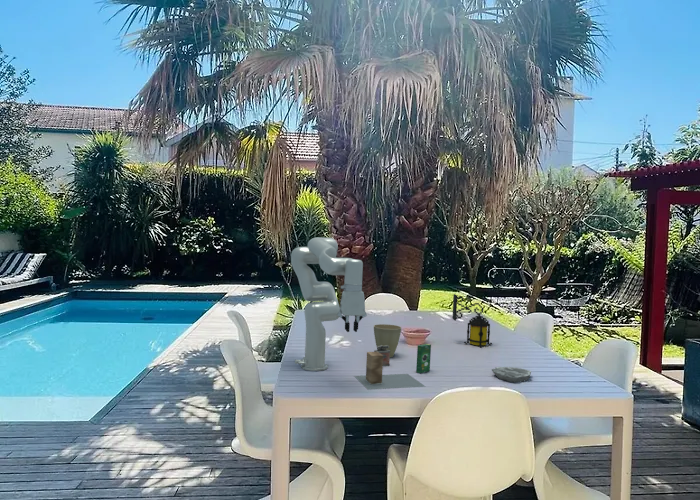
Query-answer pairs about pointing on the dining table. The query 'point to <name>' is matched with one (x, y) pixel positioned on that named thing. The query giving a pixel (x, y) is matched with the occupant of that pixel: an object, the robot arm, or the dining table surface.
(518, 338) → the dining table surface
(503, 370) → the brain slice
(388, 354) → the lighter
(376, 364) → the tan rectangular block
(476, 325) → the wall lantern
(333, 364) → the dining table surface
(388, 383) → the slate mat
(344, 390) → the dining table surface
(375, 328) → the plant pot
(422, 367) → the coffee box
